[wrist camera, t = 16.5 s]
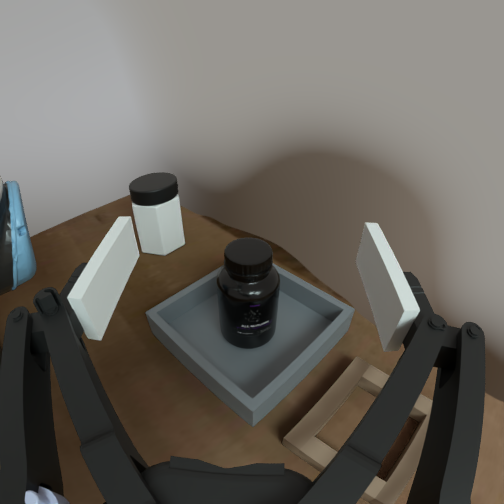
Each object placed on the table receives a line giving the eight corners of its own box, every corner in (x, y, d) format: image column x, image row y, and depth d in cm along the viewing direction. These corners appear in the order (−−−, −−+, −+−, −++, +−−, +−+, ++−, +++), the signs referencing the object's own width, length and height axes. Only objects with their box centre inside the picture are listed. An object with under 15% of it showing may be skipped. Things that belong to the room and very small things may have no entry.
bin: (152, 333, 39) (145, 312, 36) (249, 271, 49) (248, 250, 47) (252, 427, 28) (252, 411, 26) (348, 330, 39) (354, 309, 37)
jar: (193, 232, 58) (186, 172, 51) (176, 258, 52) (166, 193, 45) (151, 228, 60) (141, 171, 53) (131, 252, 53) (117, 190, 46)
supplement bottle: (252, 361, 34) (251, 282, 27) (209, 331, 38) (198, 252, 31) (287, 326, 38) (295, 247, 31) (246, 301, 42) (244, 224, 35)
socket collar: (281, 444, 27) (283, 437, 26) (352, 365, 34) (356, 356, 33) (383, 510, 19) (391, 507, 18) (439, 416, 27) (447, 409, 26)
